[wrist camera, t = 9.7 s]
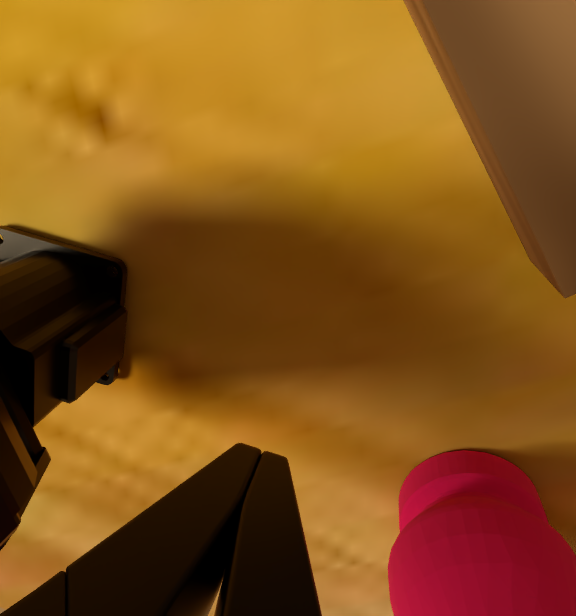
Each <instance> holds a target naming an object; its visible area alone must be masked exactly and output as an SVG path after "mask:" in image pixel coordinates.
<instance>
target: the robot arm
mask: <svg viewBox="0 0 576 616" xmlns="http://www.w3.org/2000/svg"><path fill="white" fill-rule="evenodd" d="M0 234H1V235H2V237H3V239H4V241H3V240H2V239H1V238H0V550H1V549H2V548H3V547H4V546H5V545H6V543H7V541H8V540H9V538H10V537H11V535H12V534H13V533H14V532H15V531H16V530H17V528H18V526H19V524H20V522H21V516H22V514H23V513H24V511H25V509H26V507H27V505H28V503H29V501H30V499H31V497H32V495H33V493H34V491H35V489H36V488H37V486H38V484H39V482H40V480H41V478H42V476H43V474H44V472H45V470H46V468H47V466H48V464H49V463H50V461H51V458H50V456H49V454H48V452H47V450H46V448H45V447H42V446H41V444H40V442H39V440H38V438H37V436H36V434H35V431H34V429H33V427H34V426H35V425H36V424H38V423H39V422H40V421H41V420H42V419H43V418H44V417H45V416H46V415H48V414H49V413H50V412H51V411H52V410H53V409H54V408H55V407H57V406H58V405H59V404H60V403H61V402H62V401H63V402H66V403H69V404H70V403H71V402H73V401H75V400H77V399H78V398H79V397H80V396H81V395H82V394H83V393H84V392H85V391H87V390H88V389H89V388H90V387H91V386H92V385H93V384H94V383H95V382H97V383H100V384H103V385H109V384H111V383H112V382H113V381H114V380H115V379H116V378H117V376H118V368H119V360H120V359H121V358H122V357H123V354H124V343H125V333H126V322H127V310H126V308H125V306H124V302H125V291H126V280H127V267H126V265H125V263H124V262H123V261H122V260H120V259H118V258H114V257H111V256H107V255H104V254H100V253H97V252H93V251H90V250H87V249H83V248H80V247H76V246H73V245H69V244H66V243H62V242H59V241H55V240H52V239H48V238H45V237H41V236H38V235H34V234H31V233H27V232H24V231H20V230H17V229H14V228H10V227H7V226H0ZM112 266H113V267H115V268H116V269H117V272H118V274H115V273H114V272H113V271H112V268H111V267H112ZM105 373H107V374H108V375H109V376H106V375H105ZM222 580H223V581H222ZM221 583H222V585H221ZM220 586H221V589H220V593H219V597H218V601H217V605H216V610H215V614H214V616H322V614H321V609H320V605H319V600H318V596H317V591H316V586H315V582H314V577H313V573H312V568H311V564H310V559H309V554H308V550H307V545H306V541H305V536H304V532H303V527H302V522H301V518H300V513H299V509H298V504H297V500H296V495H295V490H294V486H293V481H292V477H291V472H290V467H289V463H288V460H287V458H286V457H284V456H281V455H278V454H275V453H272V452H268V451H264V452H263V453H262V454H261V450H260V449H259V448H256V447H253V446H249V445H246V444H243V443H237V444H235V445H234V446H233V447H231V448H230V449H228V450H227V451H226V452H224V453H223V454H222V455H220V456H219V457H217V458H216V459H215V460H213V461H212V462H211V463H209V464H208V465H206V466H205V467H204V468H202V469H201V470H200V471H198V472H197V473H195V474H194V475H193V476H191V477H190V478H189V479H187V480H186V481H184V482H183V483H182V484H180V485H179V486H178V487H176V488H175V489H173V490H172V491H171V492H169V493H168V494H167V495H165V496H164V497H162V498H161V499H160V500H158V501H157V502H156V503H154V504H153V505H151V506H150V507H149V508H147V509H146V510H145V511H143V512H142V513H140V514H139V515H138V516H136V517H135V518H134V519H132V520H131V521H129V522H128V523H127V524H125V525H124V526H123V527H121V528H120V529H118V530H117V531H116V532H114V533H113V534H112V535H110V536H109V537H107V538H106V539H105V540H103V541H102V542H101V543H99V544H98V545H96V546H95V547H94V548H92V549H91V550H90V551H88V552H87V553H85V554H84V555H83V556H81V557H80V558H79V559H77V560H76V561H75V562H73V563H72V564H70V565H69V566H68V567H67V568H66V573H65V572H64V571H60V572H59V573H57V574H56V575H55V576H53V577H52V578H51V579H49V580H48V581H47V582H45V583H44V584H43V585H41V586H40V587H38V588H37V589H36V590H34V591H33V592H31V593H30V594H28V595H27V596H26V597H24V598H23V599H21V600H20V601H18V602H17V603H15V604H14V605H13V606H11V607H10V608H8V609H7V610H5V611H4V612H2V613H1V614H0V616H208V614H209V611H210V609H211V607H212V605H213V603H214V600H215V598H216V596H217V593H218V591H219V588H220Z"/></svg>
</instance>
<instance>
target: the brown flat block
mask: <svg viewBox="0 0 576 616" xmlns="http://www.w3.org/2000/svg"><path fill="white" fill-rule="evenodd" d="M404 2H405V4H406V6H407V9H408V11H409V13H410V15H411V17H412V19H413V21H414V23H415V25H416V27H417V29H418V31H419V33H420V35H421V37H422V39H423V41H424V43H425V45H426V47H427V50H428V52H429V54H430V56H431V58H432V60H433V62H434V64H435V66H436V68H437V70H438V72H439V74H440V76H441V78H442V80H443V82H444V84H445V86H446V88H447V90H448V93H449V95H450V97H451V99H452V101H453V103H454V105H455V107H456V109H457V111H458V113H459V115H460V117H461V119H462V121H463V123H464V125H465V127H466V129H467V131H468V134H469V136H470V138H471V140H472V142H473V144H474V146H475V148H476V150H477V152H478V154H479V156H480V158H481V160H482V162H483V164H484V166H485V168H486V170H487V172H488V175H489V177H490V179H491V181H492V183H493V185H494V187H495V189H496V191H497V193H498V195H499V197H500V199H501V201H502V203H503V205H504V207H505V209H506V211H507V213H508V216H509V218H510V220H511V222H512V224H513V226H514V228H515V230H516V232H517V234H518V236H519V238H520V240H521V242H522V244H523V246H524V248H525V250H526V252H527V254H528V257H529V259H530V261H531V262H532V263H533V264H534V265H535V266H536V267H537V268H538V270H539V271H540V272H541V273H542V274H543V275H544V276H545V277H546V278H547V279H548V280H549V282H550V283H551V284H552V285H553V286H554V287H555V288H556V289H557V290H558V291H559V292H560V294H561V295H562V296H563V297H564V298H567V297H570V296H572V295H574V294H576V0H404Z"/></svg>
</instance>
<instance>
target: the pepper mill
mask: <svg viewBox="0 0 576 616" xmlns="http://www.w3.org/2000/svg"><path fill="white" fill-rule="evenodd" d="M399 528H400V534H399V535H398V537H397V539H396V541H395V543H394V545H393V547H392V549H391V553H390V558H389V563H388V580H389V591H390V601H391V606H392V610H393V613H394V616H576V555H575V554H574V552H573V550H572V549H571V547H570V546H569V545H568V543H567V542H566V541H565V540H564V538H563V537H562V536H561V535H560V534H559V533H558V532H557V531H556V530H555V529H554V528H552V527H551V526H550V525H549V524H548V520H547V517H546V514H545V511H544V508H543V506H542V503H541V501H540V498H539V495H538V493H537V490H536V488H535V486H534V484H533V483H532V481H531V480H530V479H529V478H528V476H527V475H526V474H525V473H524V472H523V471H522V470H520V469H519V468H518V467H517V466H515V465H514V464H512V463H511V462H509V461H507V460H505V459H503V458H500V457H498V456H495V455H492V454H489V453H485V452H476V451H467V450H461V451H453V452H445V453H442V454H439V455H436V456H433V457H431V458H429V459H427V460H425V461H424V462H422V463H421V464H419V465H418V466H416V467H415V468H414V469H413V470H412V471H411V472H410V474H409V475H408V476H407V477H406V479H405V481H404V483H403V485H402V487H401V490H400V495H399Z"/></svg>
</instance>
